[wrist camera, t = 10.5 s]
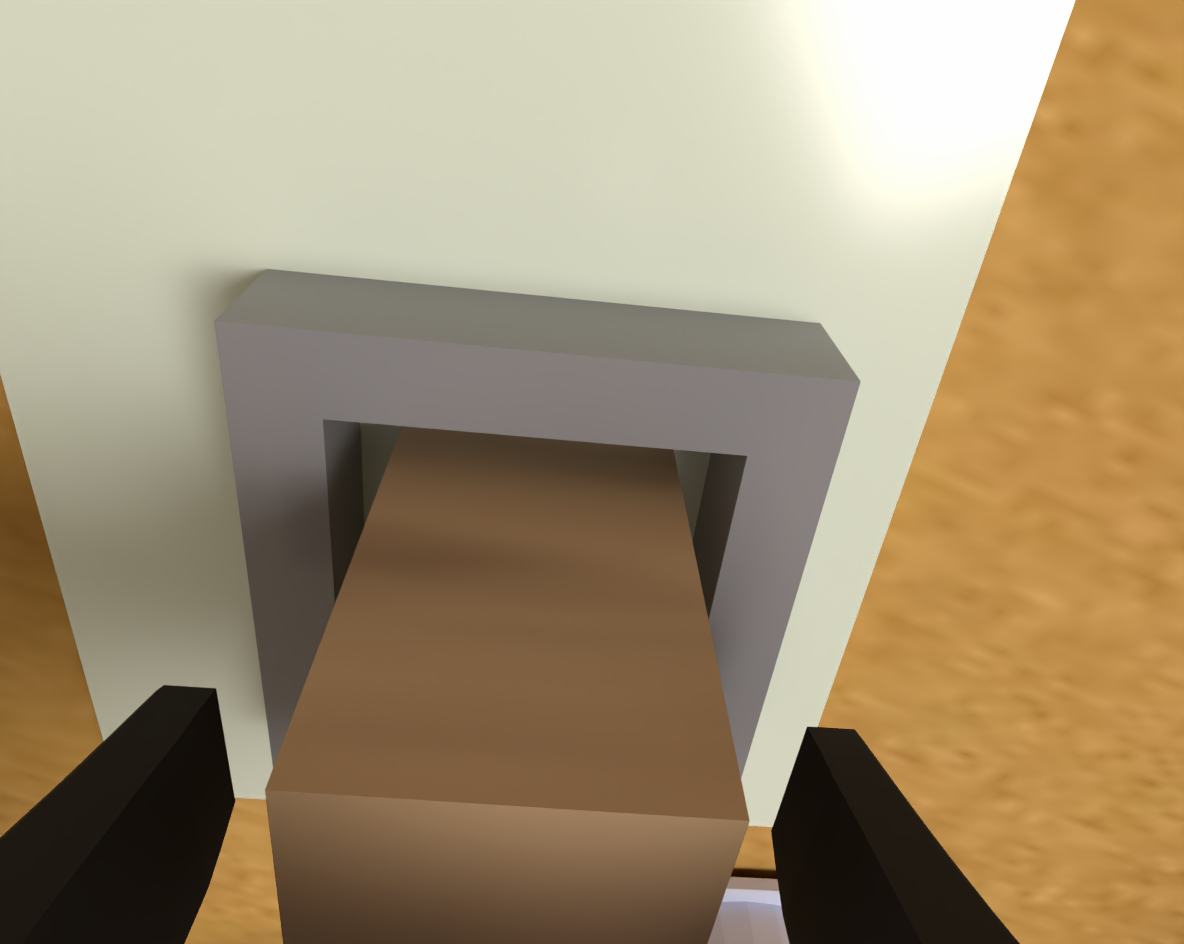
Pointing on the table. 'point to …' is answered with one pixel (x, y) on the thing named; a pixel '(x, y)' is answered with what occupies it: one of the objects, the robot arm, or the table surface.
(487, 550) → the brown wooden block
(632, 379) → the board with square socket
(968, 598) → the table surface
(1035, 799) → the table surface
